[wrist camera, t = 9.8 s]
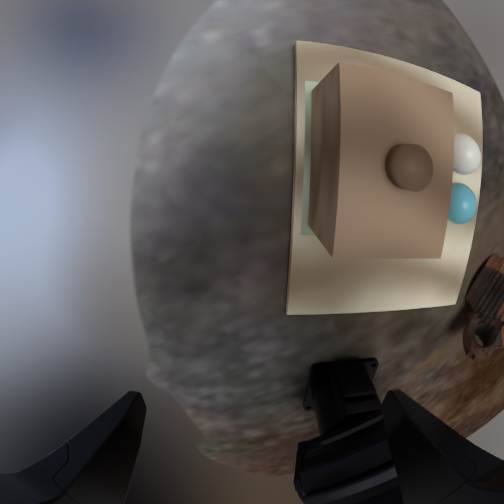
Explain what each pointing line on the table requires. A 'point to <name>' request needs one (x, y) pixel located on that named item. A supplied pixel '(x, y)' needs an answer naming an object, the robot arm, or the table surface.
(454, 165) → the marble ivory
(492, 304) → the pottery mug
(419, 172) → the walnut cover
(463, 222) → the marble teal
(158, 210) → the table surface
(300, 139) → the serving board
